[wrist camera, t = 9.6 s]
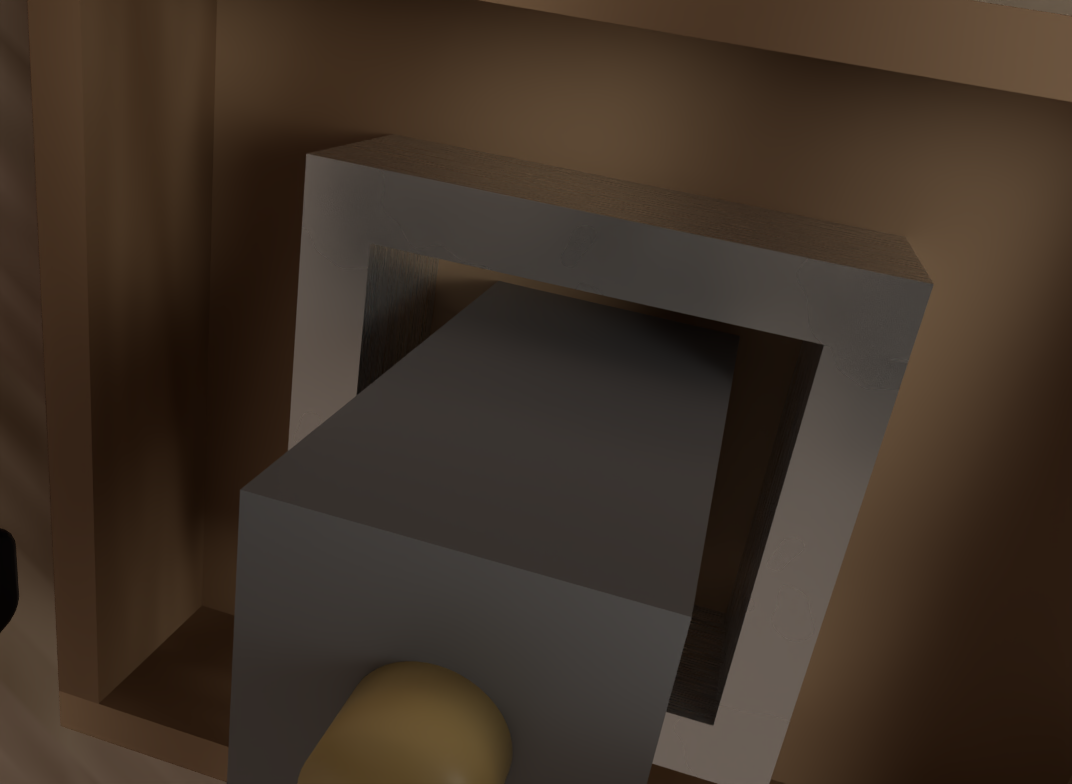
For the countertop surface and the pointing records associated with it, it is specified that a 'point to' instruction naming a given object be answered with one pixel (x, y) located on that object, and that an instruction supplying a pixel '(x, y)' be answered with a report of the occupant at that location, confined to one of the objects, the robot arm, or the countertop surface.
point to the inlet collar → (660, 281)
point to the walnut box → (608, 150)
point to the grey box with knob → (483, 555)
